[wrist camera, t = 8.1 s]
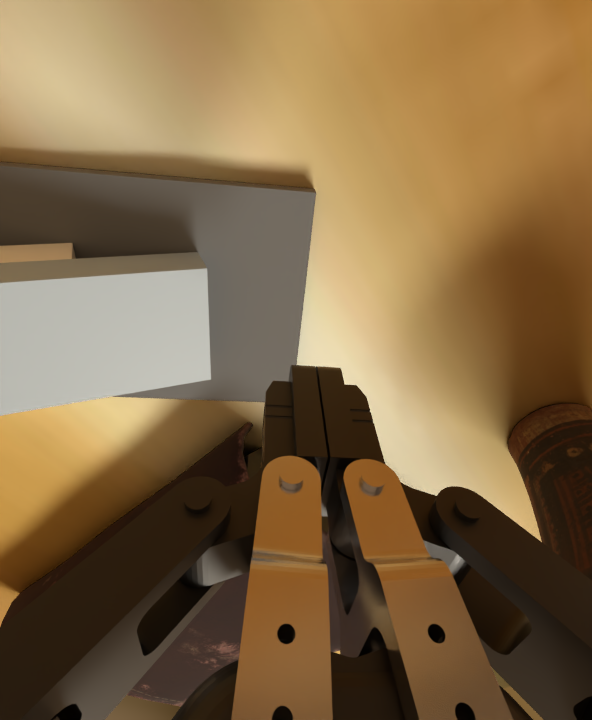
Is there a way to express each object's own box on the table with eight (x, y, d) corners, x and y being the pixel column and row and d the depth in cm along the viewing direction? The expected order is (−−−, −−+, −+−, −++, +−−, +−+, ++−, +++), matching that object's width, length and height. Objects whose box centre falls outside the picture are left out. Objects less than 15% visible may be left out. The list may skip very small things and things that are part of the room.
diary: (18, 581, 31) (-21, 657, 27) (243, 406, 22) (235, 481, 18) (207, 649, 39) (199, 716, 35) (427, 542, 30) (451, 615, 26)
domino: (197, 252, 16) (-145, 271, 12) (206, 268, 15) (-169, 295, 11) (202, 358, 19) (-73, 400, 15) (210, 379, 17) (-86, 430, 14)
